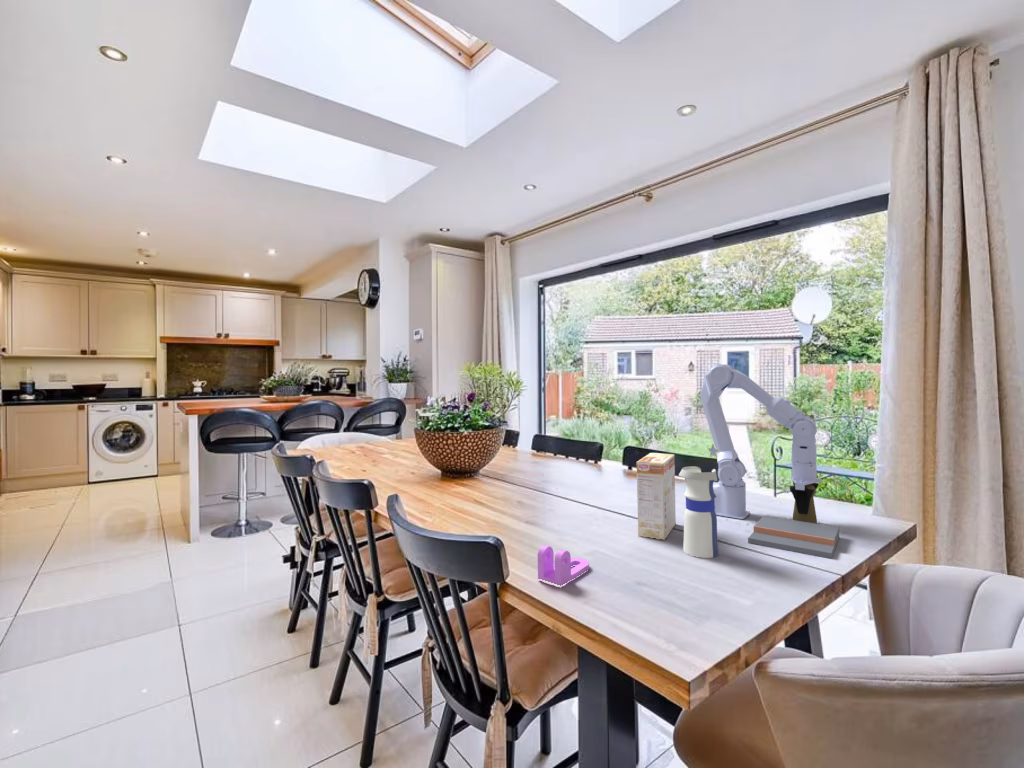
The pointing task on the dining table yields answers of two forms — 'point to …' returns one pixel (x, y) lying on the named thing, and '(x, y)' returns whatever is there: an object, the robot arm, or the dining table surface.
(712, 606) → the dining table surface
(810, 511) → the cork
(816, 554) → the stepped stand
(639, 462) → the coffeecake box
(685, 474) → the white spray bottle
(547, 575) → the bracket
